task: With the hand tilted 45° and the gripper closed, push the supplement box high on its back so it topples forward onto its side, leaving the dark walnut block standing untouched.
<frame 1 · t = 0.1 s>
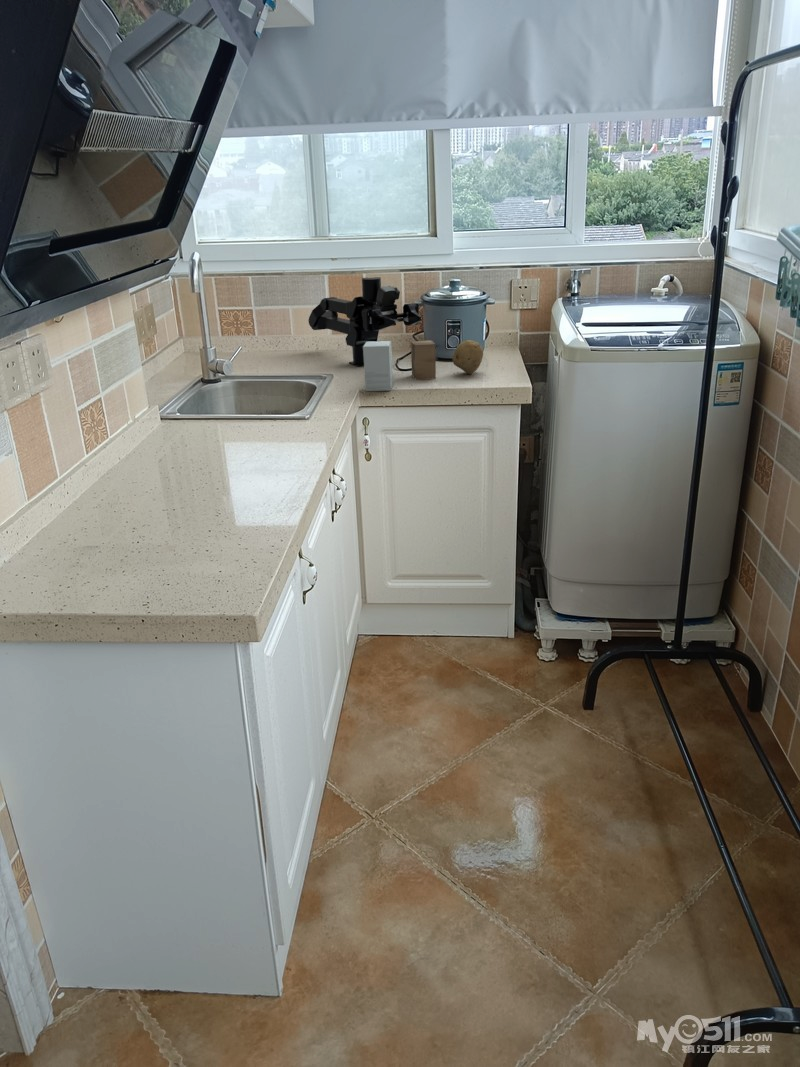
hand: (407, 320, 240), 17 cm above the worktop, tool horizontal, fingers open, 9 cm apart
natural sponge: (467, 374, 250), on the worktop
supplement box: (379, 388, 236), on the worktop
walnut block: (423, 376, 248), on the worktop
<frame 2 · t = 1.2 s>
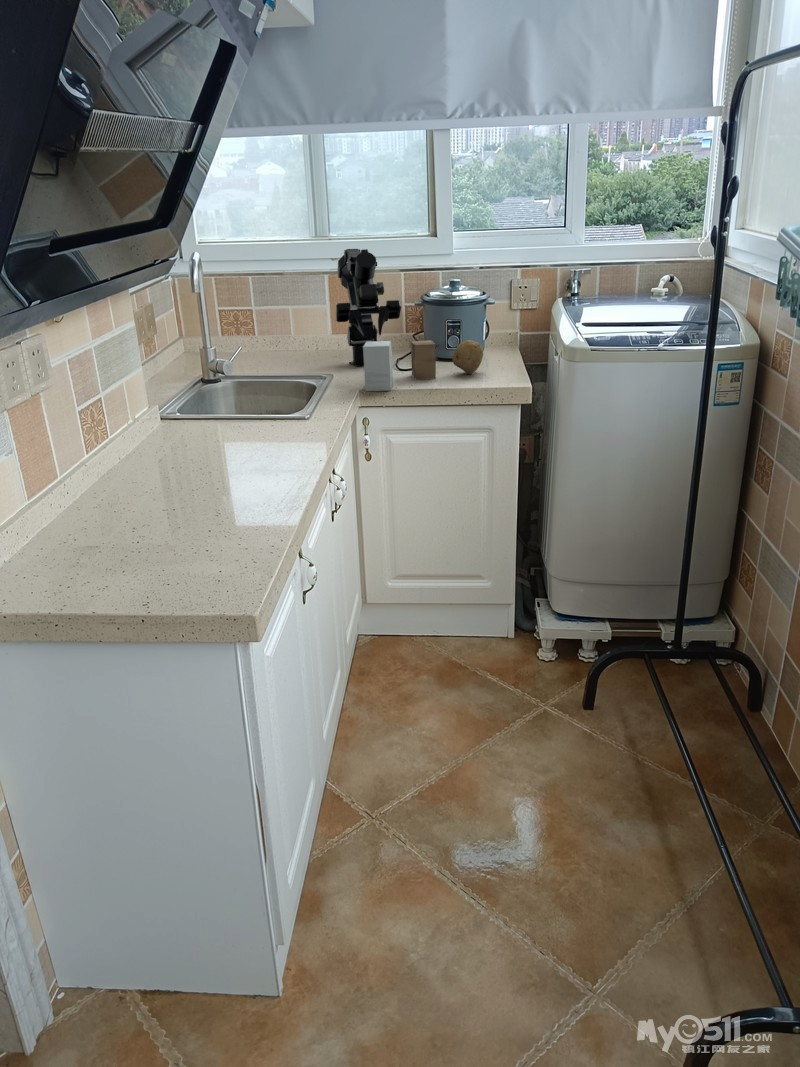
hand: (372, 335, 240), 13 cm above the worktop, tool tilted 45°, fingers open, 4 cm apart
nothing on the worktop moved.
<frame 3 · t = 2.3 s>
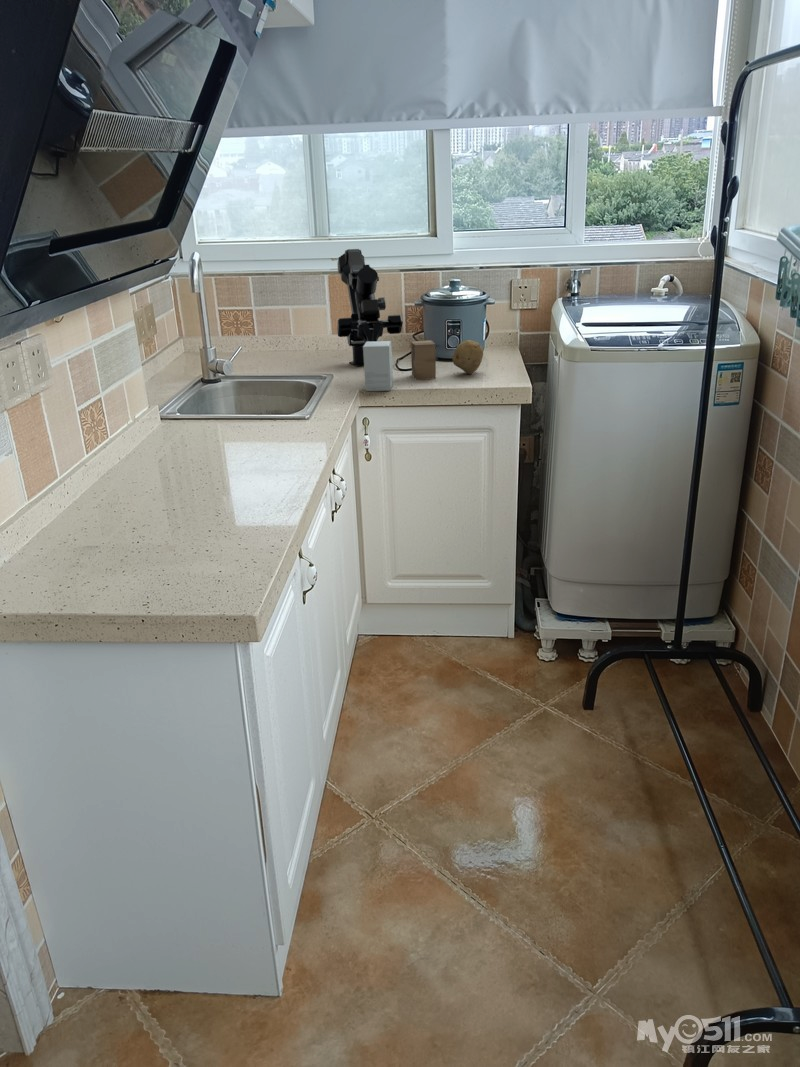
hand: (373, 350, 240), 9 cm above the worktop, tool tilted 45°, fingers closed
nothing on the worktop moved.
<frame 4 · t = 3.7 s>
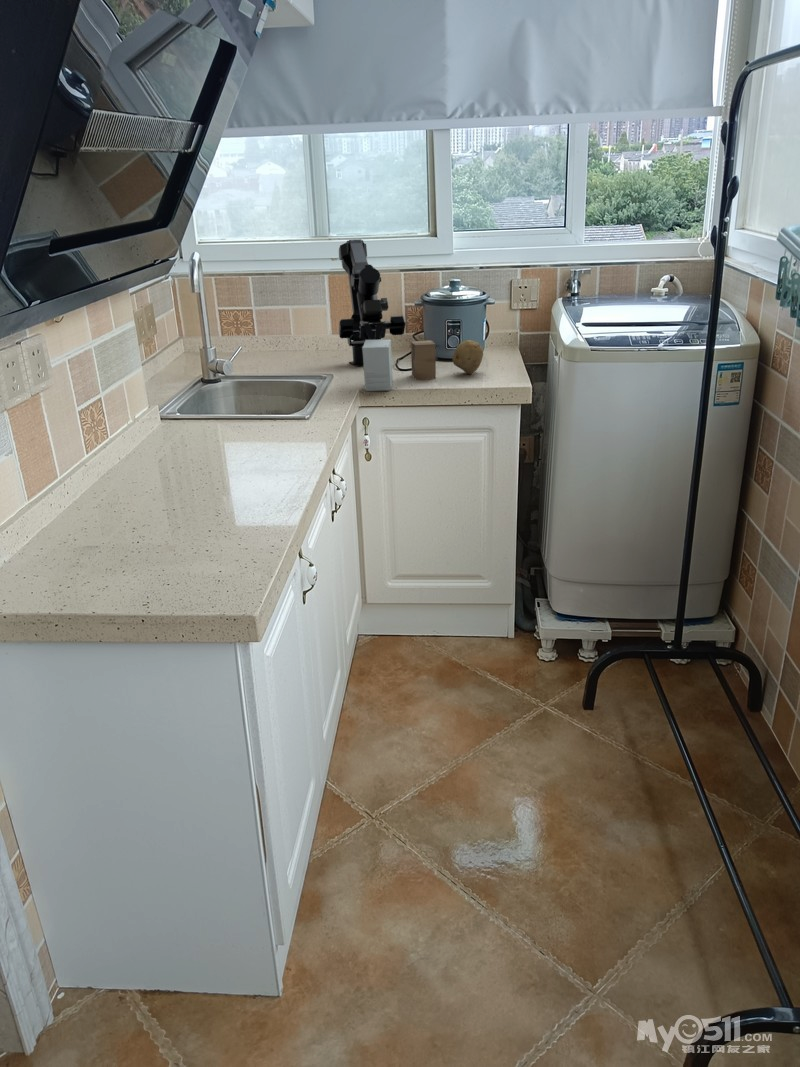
hand: (376, 351, 235), 10 cm above the worktop, tool tilted 45°, fingers closed
supplement box: (379, 387, 236), on the worktop, touching gripper
everything else where it was.
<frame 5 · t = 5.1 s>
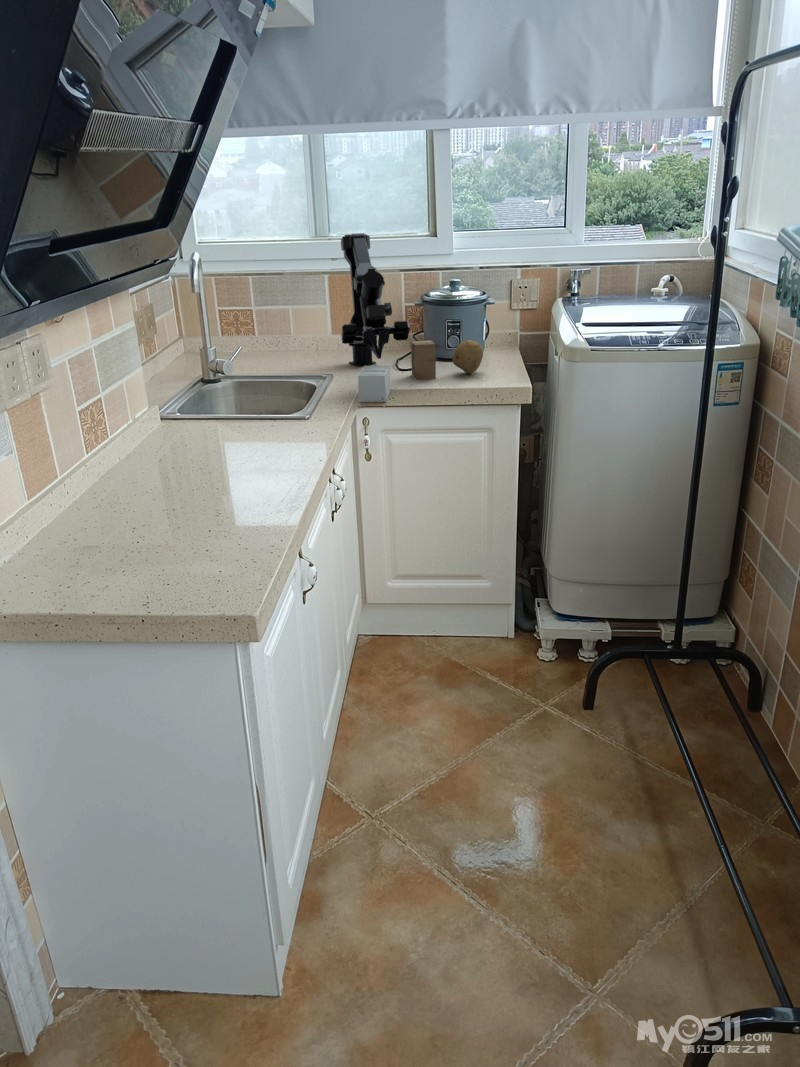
hand: (379, 357, 230), 9 cm above the worktop, tool tilted 45°, fingers closed
supplement box: (377, 377, 231), point 4 cm above the worktop
everything else where it was.
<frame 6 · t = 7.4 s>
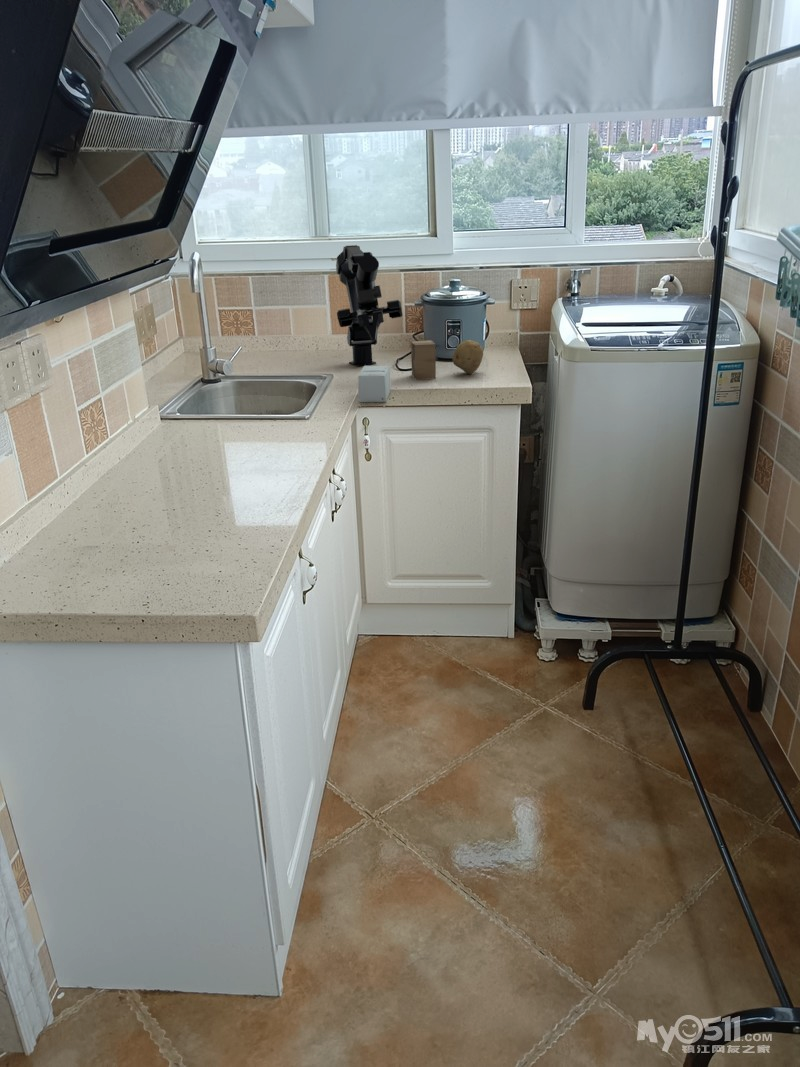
hand: (373, 339, 241), 12 cm above the worktop, tool tilted 40°, fingers closed
nothing on the worktop moved.
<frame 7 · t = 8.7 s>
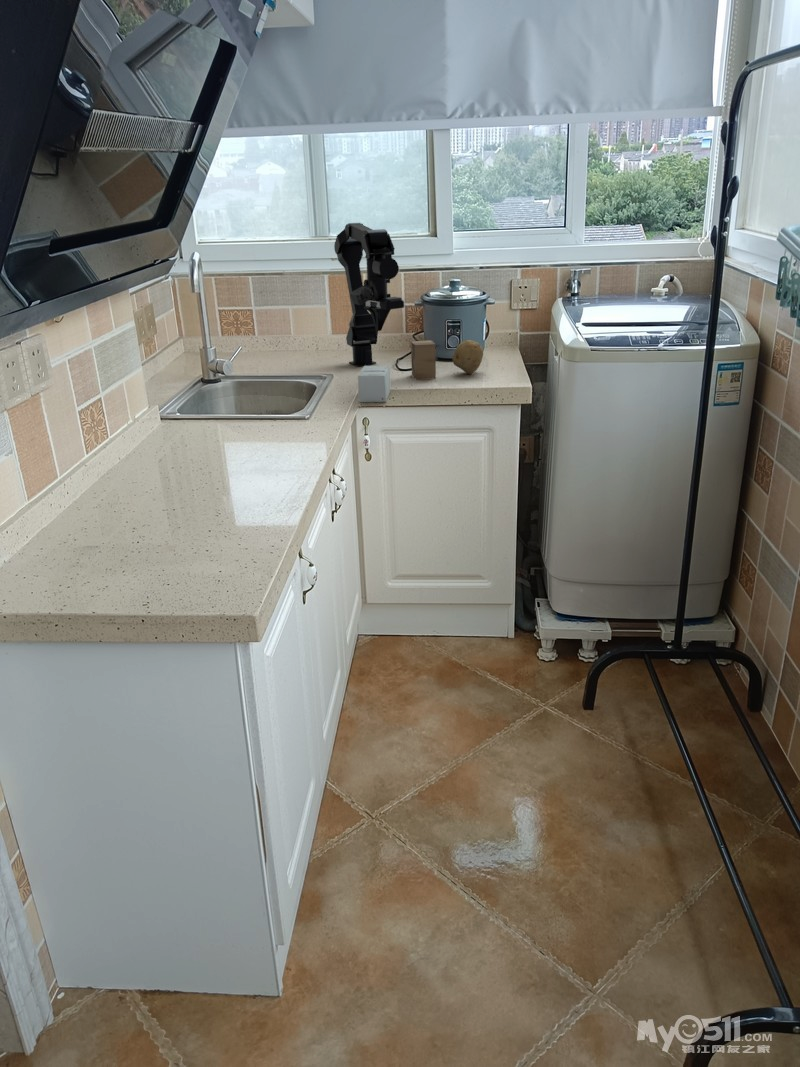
hand: (379, 330, 247), 13 cm above the worktop, tool pointing down, fingers closed
nothing on the worktop moved.
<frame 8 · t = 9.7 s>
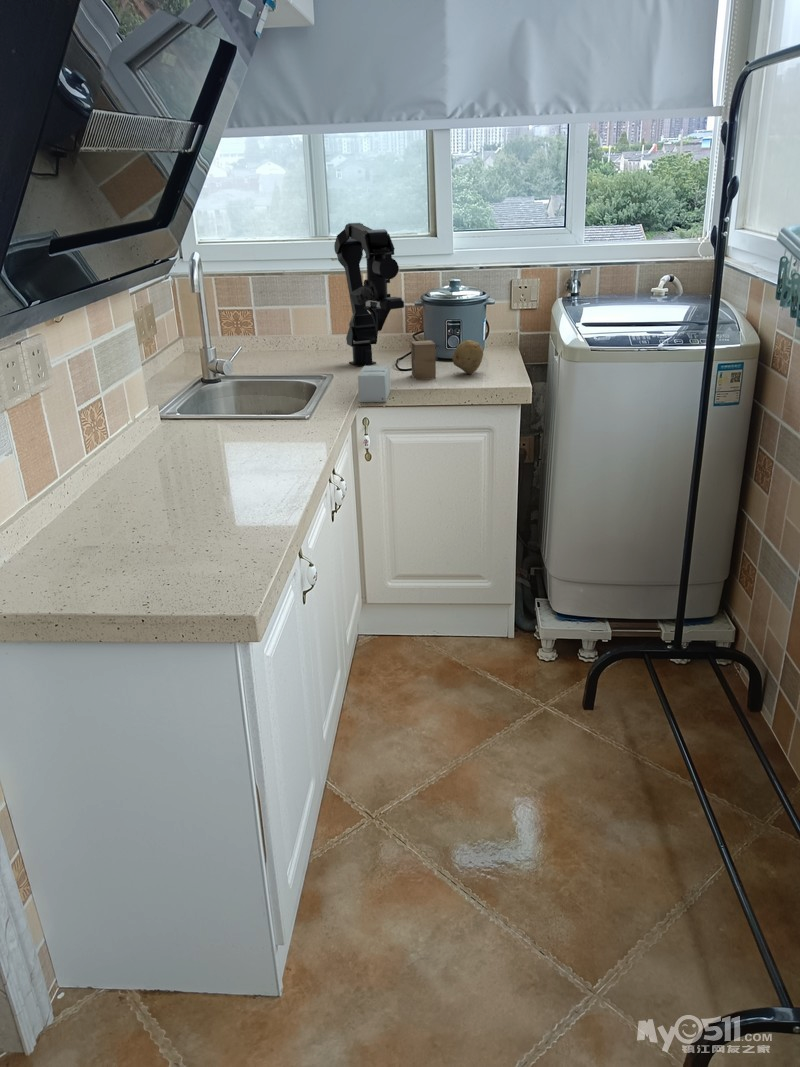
hand: (379, 330, 247), 13 cm above the worktop, tool pointing down, fingers closed
nothing on the worktop moved.
at the end: supplement box tilted 90°; supplement box inside the target area (3.3 cm from its centre), point 3.7 cm above the worktop; walnut block tilted 0° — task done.
